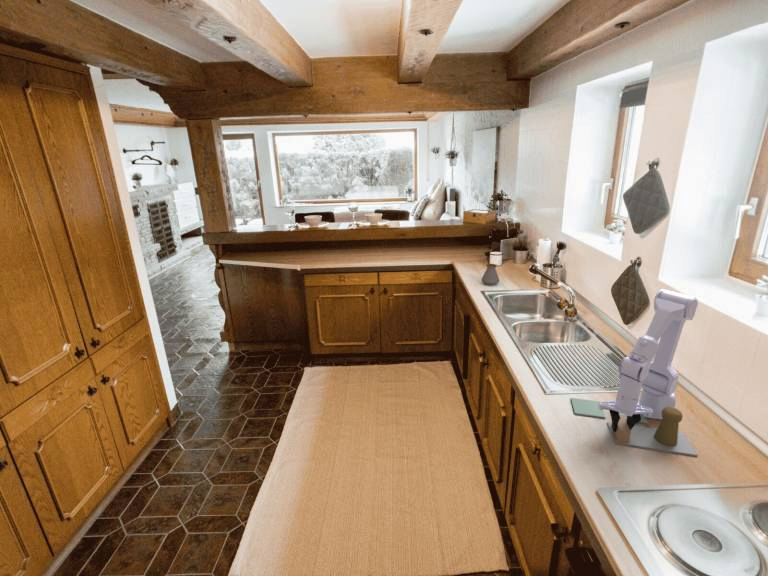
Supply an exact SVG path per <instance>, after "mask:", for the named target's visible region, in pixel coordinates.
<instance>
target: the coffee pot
mask: <svg viewBox="0 0 768 576" xmlns="http://www.w3.org/2000/svg"><path fill="white" fill-rule="evenodd" d="M489 258H490V257H489V256H488V255H486V256H485V259H486V262H487V264H486V268H485V269H486V270H485V272H484V273H483V276H482V277H481V282H482V283H483V284H484V285H486V286H492V287H493V286H496V285H497V284H499V282H500V277H499V275H498V272H497V269H496V268H497V266H498V264H495V263H490V259H489Z"/></svg>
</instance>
